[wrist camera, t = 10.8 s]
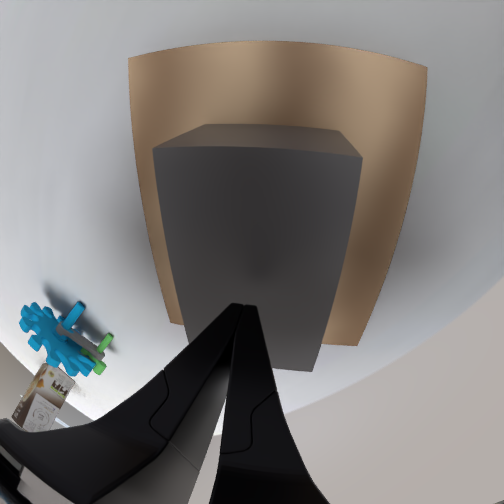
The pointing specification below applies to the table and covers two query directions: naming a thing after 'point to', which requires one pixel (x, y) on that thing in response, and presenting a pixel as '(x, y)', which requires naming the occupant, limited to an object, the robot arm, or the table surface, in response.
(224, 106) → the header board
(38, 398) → the coffee box
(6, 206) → the table surface
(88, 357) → the gear
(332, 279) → the block
